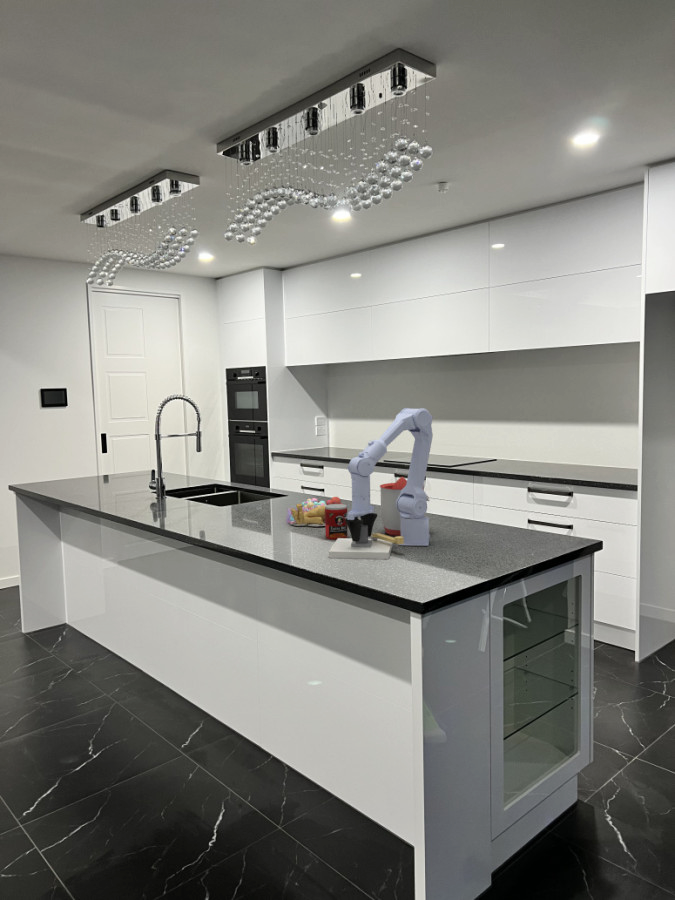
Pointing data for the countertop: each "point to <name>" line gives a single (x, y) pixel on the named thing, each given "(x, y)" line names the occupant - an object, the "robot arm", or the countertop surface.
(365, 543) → the plug
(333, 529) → the canned food
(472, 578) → the countertop surface
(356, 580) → the countertop surface
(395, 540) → the clip
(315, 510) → the candy landscape model
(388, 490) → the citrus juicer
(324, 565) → the countertop surface
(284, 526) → the countertop surface
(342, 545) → the socket board
